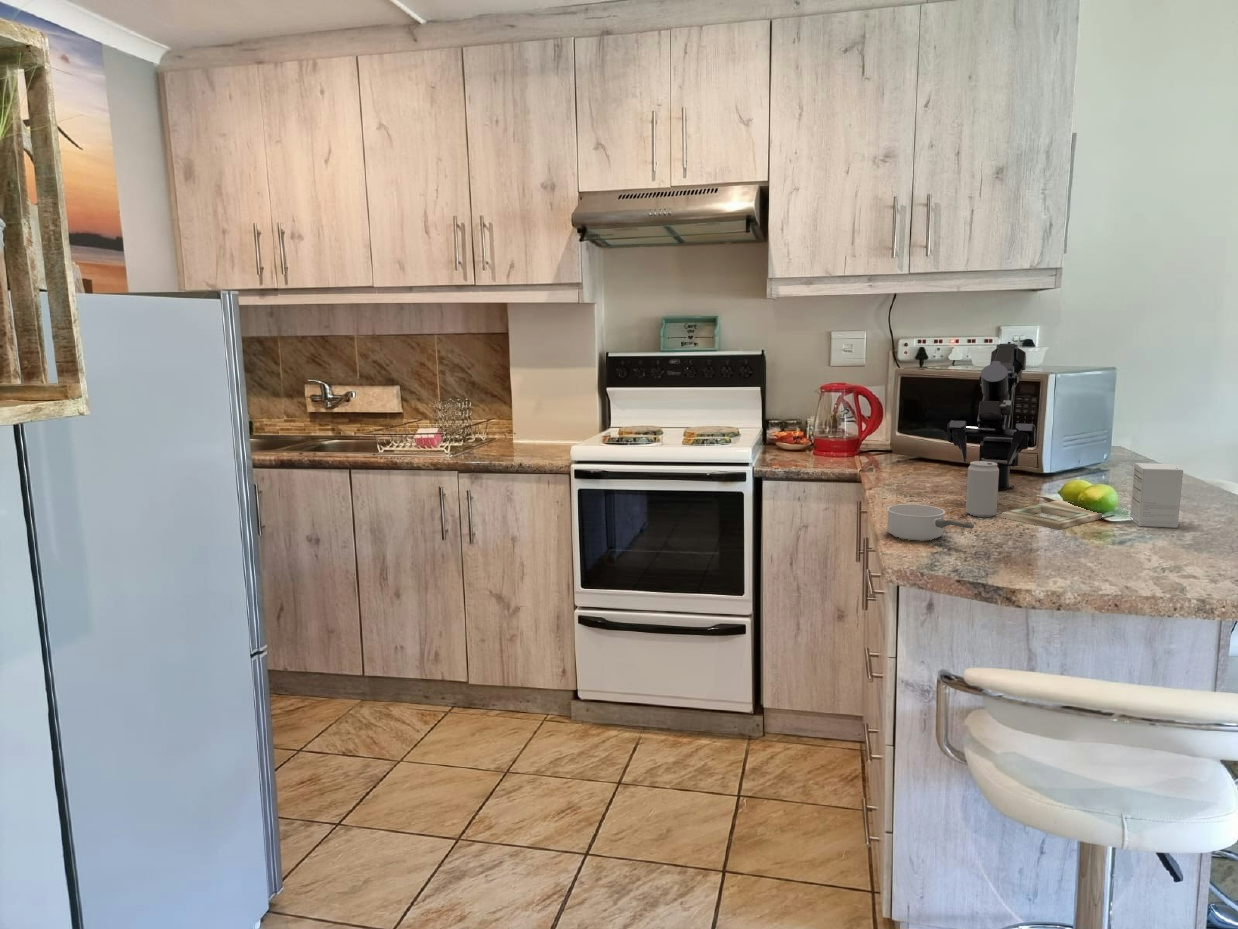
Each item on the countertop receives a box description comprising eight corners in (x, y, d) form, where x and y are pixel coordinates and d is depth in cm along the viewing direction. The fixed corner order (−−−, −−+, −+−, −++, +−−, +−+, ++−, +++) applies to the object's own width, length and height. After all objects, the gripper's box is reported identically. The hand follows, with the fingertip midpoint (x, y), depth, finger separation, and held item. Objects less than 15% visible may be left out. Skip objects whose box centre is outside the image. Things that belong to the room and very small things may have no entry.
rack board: (1057, 505, 194) (1057, 499, 194) (1114, 515, 183) (1114, 509, 183) (1001, 517, 183) (1002, 511, 183) (1058, 529, 172) (1059, 523, 172)
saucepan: (947, 557, 154) (949, 528, 153) (873, 533, 172) (874, 507, 171) (991, 549, 159) (993, 521, 158) (914, 527, 177) (915, 501, 176)
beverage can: (999, 518, 182) (1002, 465, 180) (968, 517, 184) (971, 464, 182) (992, 512, 189) (995, 460, 186) (962, 511, 190) (965, 460, 188)
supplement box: (1167, 520, 178) (1173, 463, 176) (1178, 528, 171) (1184, 469, 169) (1128, 518, 181) (1134, 462, 178) (1137, 526, 174) (1143, 467, 171)
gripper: (950, 386, 195) (940, 438, 187) (1038, 388, 185) (1031, 443, 178) (953, 416, 203) (943, 467, 195) (1037, 419, 193) (1031, 473, 186)
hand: (986, 462), depth 188 cm, fingers open, 9 cm apart
